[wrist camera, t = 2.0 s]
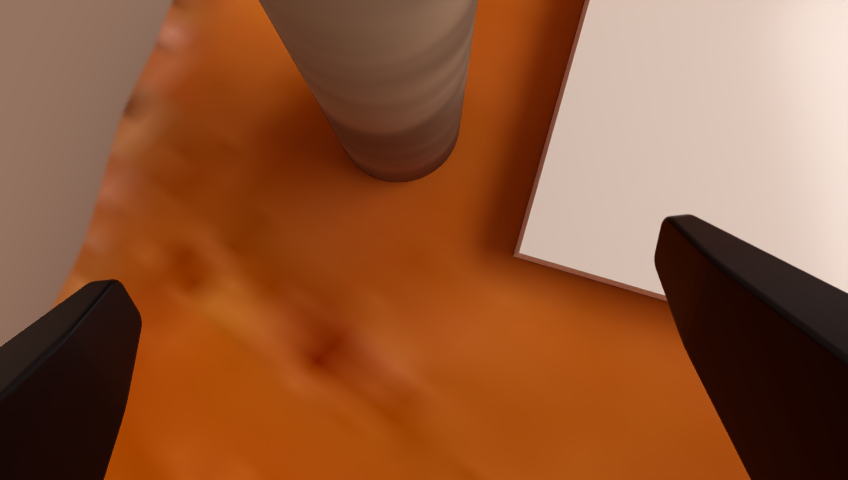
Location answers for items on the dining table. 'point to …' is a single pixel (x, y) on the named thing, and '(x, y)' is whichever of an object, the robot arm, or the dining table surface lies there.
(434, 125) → the walnut roller
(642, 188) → the stone slab
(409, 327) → the dining table surface
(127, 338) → the robot arm
